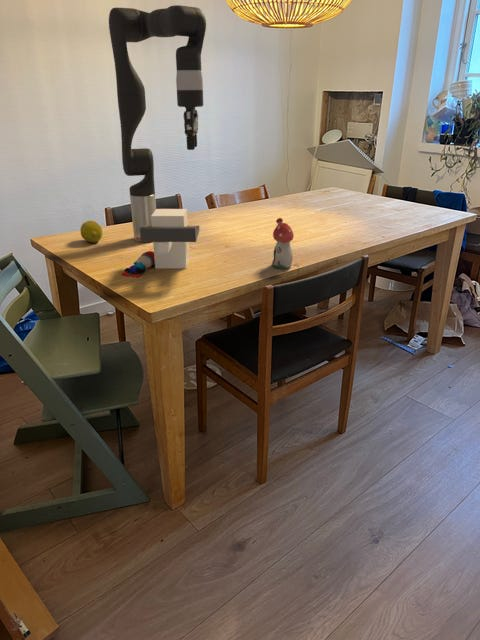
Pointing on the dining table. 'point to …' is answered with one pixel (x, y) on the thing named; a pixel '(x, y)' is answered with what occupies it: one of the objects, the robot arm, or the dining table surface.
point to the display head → (169, 251)
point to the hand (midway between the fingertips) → (192, 148)
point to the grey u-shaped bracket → (169, 234)
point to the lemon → (91, 231)
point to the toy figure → (141, 264)
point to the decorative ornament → (282, 245)
